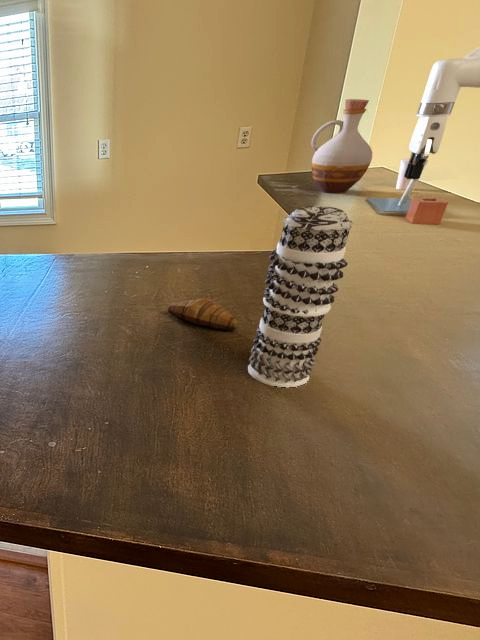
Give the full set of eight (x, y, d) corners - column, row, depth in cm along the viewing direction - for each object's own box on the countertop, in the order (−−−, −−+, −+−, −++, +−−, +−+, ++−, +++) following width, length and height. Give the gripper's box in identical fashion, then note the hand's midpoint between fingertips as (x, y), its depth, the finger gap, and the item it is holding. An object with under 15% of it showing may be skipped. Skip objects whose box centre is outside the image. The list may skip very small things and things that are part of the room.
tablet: (416, 201, 156) (417, 198, 156) (436, 216, 141) (437, 212, 140) (365, 200, 162) (366, 197, 161) (379, 214, 146) (380, 211, 145)
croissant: (244, 325, 89) (249, 300, 86) (227, 338, 85) (232, 313, 83) (177, 307, 98) (180, 284, 95) (159, 318, 94) (162, 295, 91)
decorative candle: (254, 388, 71) (294, 220, 59) (238, 358, 79) (270, 203, 67) (321, 390, 70) (377, 218, 57) (298, 359, 77) (343, 201, 65)
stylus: (402, 206, 149) (428, 158, 141) (403, 207, 148) (429, 159, 140) (396, 205, 150) (421, 158, 142) (398, 206, 148) (423, 158, 141)
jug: (294, 193, 177) (315, 102, 162) (305, 184, 189) (326, 98, 174) (357, 197, 166) (386, 99, 151) (365, 188, 177) (393, 96, 162)
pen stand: (432, 218, 139) (440, 197, 136) (439, 224, 134) (448, 202, 131) (405, 218, 141) (412, 197, 138) (411, 223, 136) (419, 201, 133)
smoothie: (414, 190, 169) (429, 147, 162) (392, 190, 172) (406, 148, 165) (412, 187, 173) (426, 145, 166) (390, 186, 176) (403, 145, 169)
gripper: (461, 111, 128) (435, 183, 137) (442, 107, 140) (419, 173, 149) (426, 112, 130) (403, 182, 140) (410, 108, 143) (389, 173, 152)
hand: (411, 177), depth 144 cm, fingers closed on stylus, 1 cm apart
